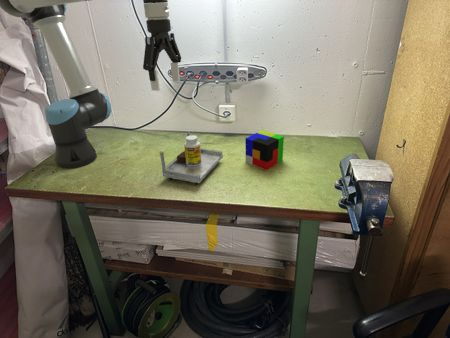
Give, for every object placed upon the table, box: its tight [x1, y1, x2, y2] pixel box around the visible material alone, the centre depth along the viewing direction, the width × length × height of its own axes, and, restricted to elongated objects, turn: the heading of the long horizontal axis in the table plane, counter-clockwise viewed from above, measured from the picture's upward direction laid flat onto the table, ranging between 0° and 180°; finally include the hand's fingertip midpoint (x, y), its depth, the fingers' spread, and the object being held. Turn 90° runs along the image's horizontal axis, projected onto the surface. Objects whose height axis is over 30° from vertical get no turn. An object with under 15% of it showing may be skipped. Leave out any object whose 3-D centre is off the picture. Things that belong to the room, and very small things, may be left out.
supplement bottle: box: [183, 134, 201, 166], centre depth 107 cm, size 6×6×10 cm
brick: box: [176, 150, 186, 163], centre depth 114 cm, size 11×4×5 cm, turn 154°
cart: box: [159, 130, 224, 186], centre depth 108 cm, size 14×20×11 cm
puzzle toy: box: [244, 130, 285, 171], centre depth 113 cm, size 10×10×10 cm
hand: (166, 85), depth 107 cm, fingers open, 13 cm apart
